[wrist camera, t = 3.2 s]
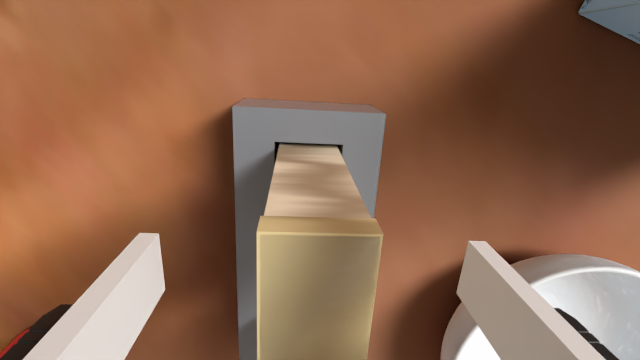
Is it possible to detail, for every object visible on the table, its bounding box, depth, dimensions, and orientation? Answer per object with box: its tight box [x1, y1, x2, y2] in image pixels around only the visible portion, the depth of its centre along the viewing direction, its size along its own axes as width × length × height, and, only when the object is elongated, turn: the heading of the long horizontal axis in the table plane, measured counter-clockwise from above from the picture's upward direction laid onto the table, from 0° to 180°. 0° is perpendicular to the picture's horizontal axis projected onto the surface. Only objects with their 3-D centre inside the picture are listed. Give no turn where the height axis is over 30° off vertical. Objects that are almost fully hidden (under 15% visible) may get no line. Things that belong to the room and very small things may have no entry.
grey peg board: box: [232, 98, 386, 360], centre depth 28 cm, size 10×24×5 cm, turn 177°
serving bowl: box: [441, 254, 640, 360], centre depth 32 cm, size 21×21×7 cm
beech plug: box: [257, 142, 383, 360], centre depth 20 cm, size 4×6×16 cm
